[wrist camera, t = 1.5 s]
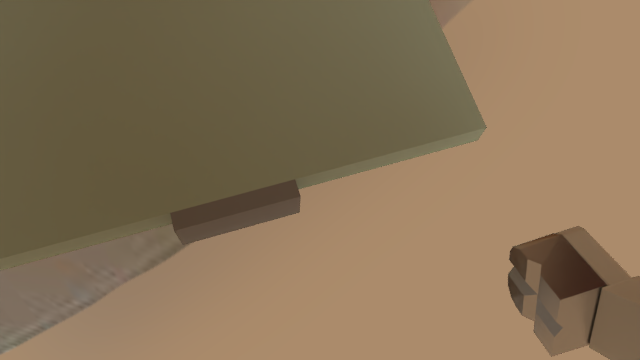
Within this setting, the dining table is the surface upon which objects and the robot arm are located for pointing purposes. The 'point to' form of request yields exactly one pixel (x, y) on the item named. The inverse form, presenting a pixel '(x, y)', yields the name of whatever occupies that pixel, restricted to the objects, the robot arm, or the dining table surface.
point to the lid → (208, 111)
